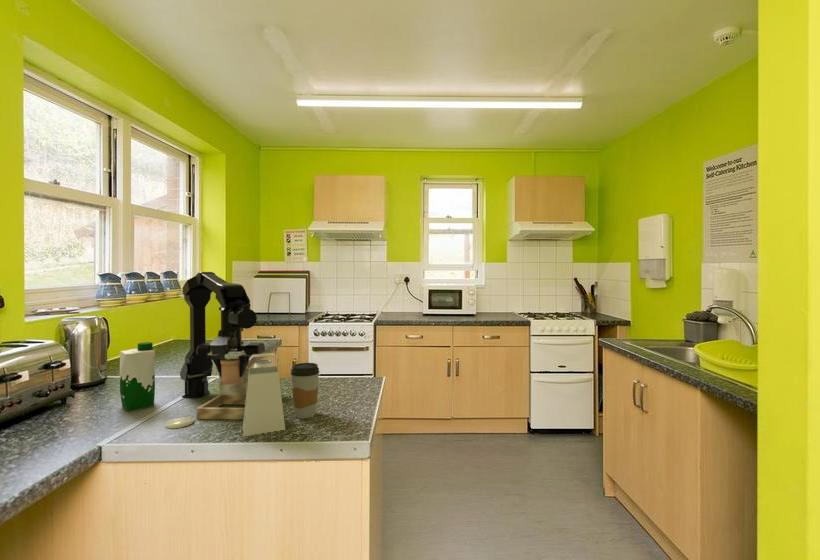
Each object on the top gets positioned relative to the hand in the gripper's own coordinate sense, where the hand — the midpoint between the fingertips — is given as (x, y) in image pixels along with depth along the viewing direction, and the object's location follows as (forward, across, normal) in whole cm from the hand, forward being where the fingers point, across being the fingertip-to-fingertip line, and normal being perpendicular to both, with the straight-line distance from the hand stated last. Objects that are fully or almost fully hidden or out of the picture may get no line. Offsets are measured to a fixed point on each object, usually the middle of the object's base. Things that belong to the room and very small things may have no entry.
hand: (231, 376), depth 120 cm
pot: (+2, 0, 0) cm, 2 cm away
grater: (+11, +14, -10) cm, 21 cm away
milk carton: (+11, -33, +5) cm, 35 cm away
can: (+11, +3, +17) cm, 21 cm away
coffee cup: (+11, +23, -1) cm, 26 cm away
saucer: (+11, -11, -9) cm, 18 cm away
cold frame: (+11, 0, +2) cm, 11 cm away
